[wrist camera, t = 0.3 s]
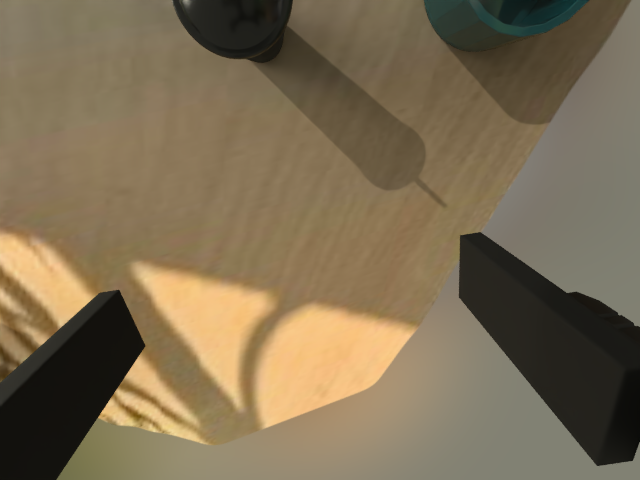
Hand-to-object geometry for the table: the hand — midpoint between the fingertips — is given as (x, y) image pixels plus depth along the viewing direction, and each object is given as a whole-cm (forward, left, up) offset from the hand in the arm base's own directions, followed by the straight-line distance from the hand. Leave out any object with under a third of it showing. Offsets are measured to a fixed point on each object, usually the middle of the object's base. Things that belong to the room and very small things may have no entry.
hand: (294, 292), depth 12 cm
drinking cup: (-14, -2, -28) cm, 31 cm away
